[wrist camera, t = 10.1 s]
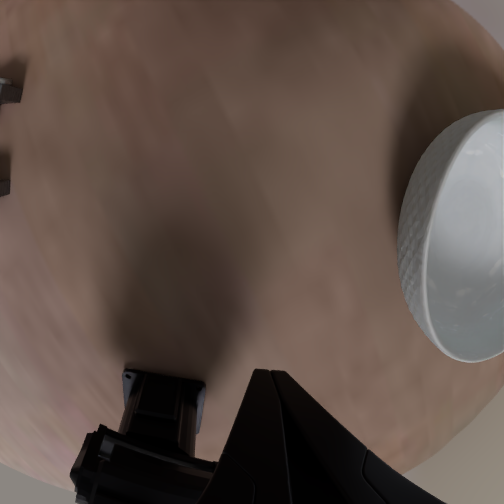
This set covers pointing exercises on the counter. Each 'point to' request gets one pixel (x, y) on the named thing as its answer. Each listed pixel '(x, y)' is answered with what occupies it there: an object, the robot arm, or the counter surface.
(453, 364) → the counter surface
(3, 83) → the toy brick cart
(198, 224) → the counter surface
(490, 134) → the cereal bowl
